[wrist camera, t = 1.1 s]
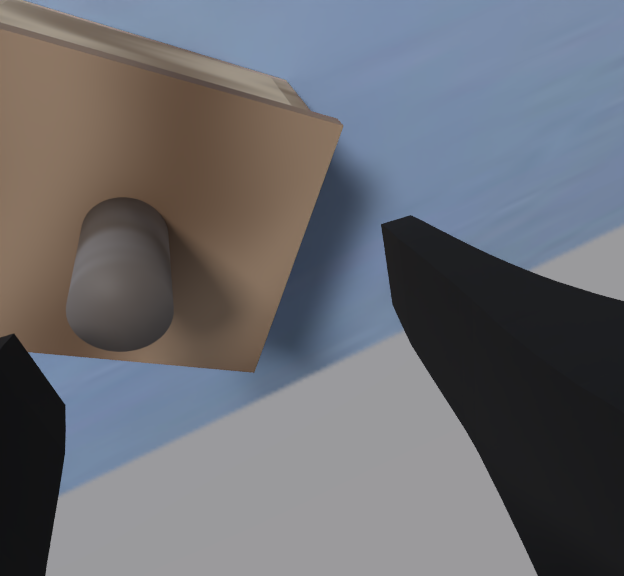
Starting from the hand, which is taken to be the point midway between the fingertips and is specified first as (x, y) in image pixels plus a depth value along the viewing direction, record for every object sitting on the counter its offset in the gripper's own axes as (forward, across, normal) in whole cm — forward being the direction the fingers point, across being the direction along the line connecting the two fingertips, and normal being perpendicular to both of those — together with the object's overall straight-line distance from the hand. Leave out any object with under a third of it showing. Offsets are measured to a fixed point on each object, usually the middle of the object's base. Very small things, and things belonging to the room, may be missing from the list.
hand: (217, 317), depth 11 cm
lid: (+6, +2, 0) cm, 6 cm away
